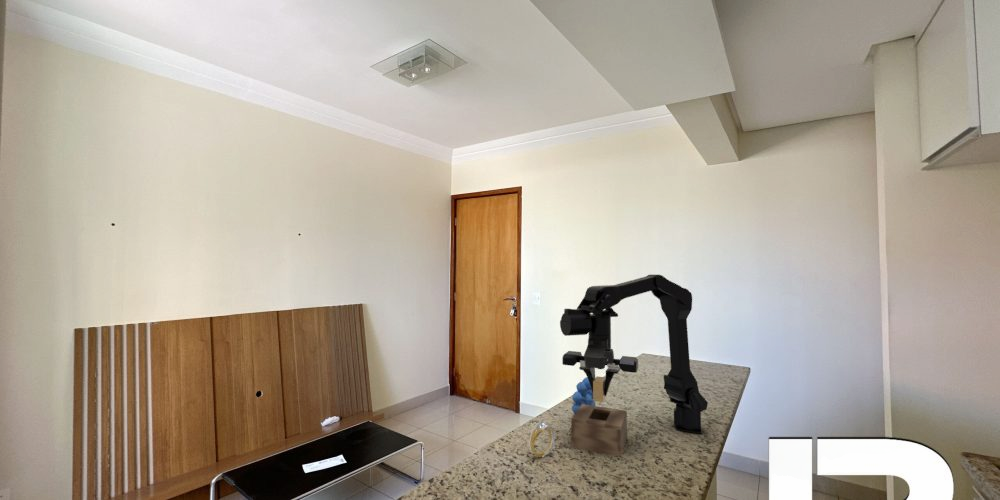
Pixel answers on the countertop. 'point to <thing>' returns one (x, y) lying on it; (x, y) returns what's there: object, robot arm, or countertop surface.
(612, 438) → the box
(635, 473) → the countertop surface
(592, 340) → the robot arm
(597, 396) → the tan flat block
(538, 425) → the ring
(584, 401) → the grapes
